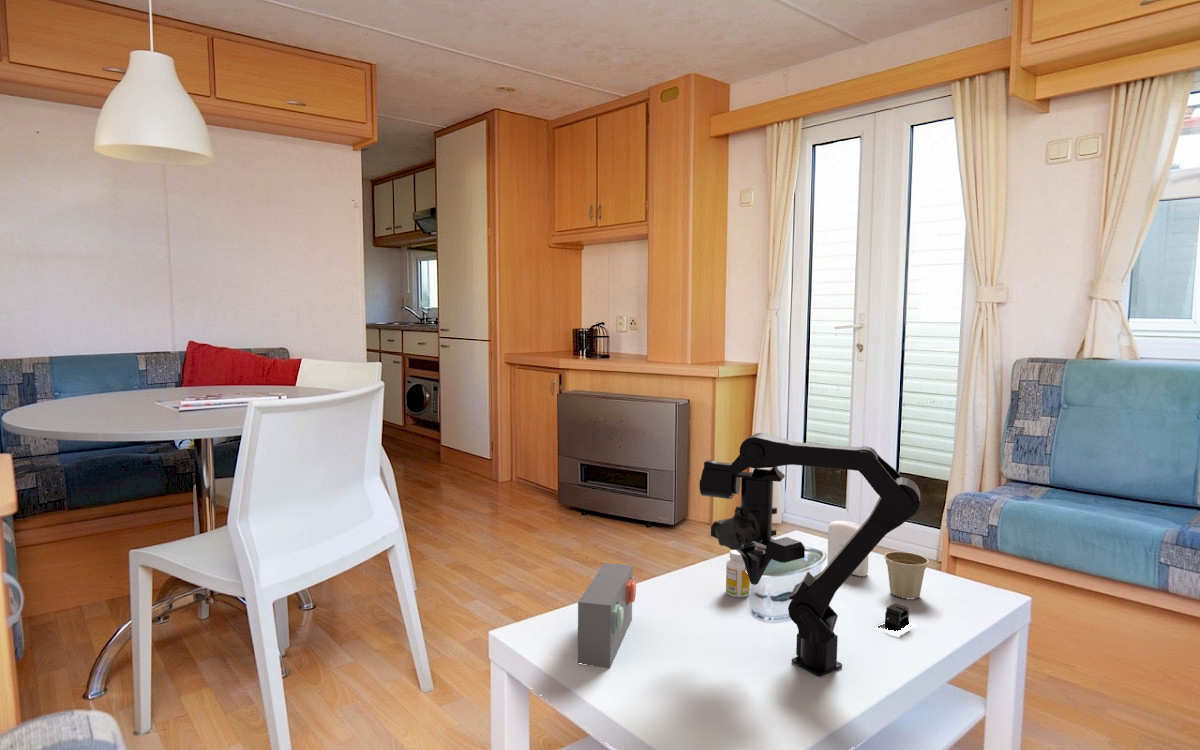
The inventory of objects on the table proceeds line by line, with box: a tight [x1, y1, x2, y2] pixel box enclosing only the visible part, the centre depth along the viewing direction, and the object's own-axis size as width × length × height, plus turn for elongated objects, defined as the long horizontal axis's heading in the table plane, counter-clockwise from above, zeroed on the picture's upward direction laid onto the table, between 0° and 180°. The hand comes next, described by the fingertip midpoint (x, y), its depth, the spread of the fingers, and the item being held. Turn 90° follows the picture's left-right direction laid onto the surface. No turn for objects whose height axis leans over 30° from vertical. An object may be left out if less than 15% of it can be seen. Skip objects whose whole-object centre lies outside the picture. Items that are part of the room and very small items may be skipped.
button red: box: [626, 579, 637, 604], centre depth 141 cm, size 5×4×4 cm
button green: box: [613, 604, 624, 632], centre depth 128 cm, size 5×4×4 cm
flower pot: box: [883, 551, 930, 599], centre depth 160 cm, size 9×9×9 cm
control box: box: [577, 562, 634, 669], centre depth 135 cm, size 6×21×12 cm, turn 167°
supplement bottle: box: [725, 549, 751, 598], centre depth 159 cm, size 5×5×10 cm
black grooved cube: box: [878, 602, 910, 631], centre depth 143 cm, size 12×7×5 cm, turn 130°
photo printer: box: [827, 520, 869, 577], centre depth 175 cm, size 10×4×12 cm, turn 37°
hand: (754, 584), depth 131 cm, fingers closed
